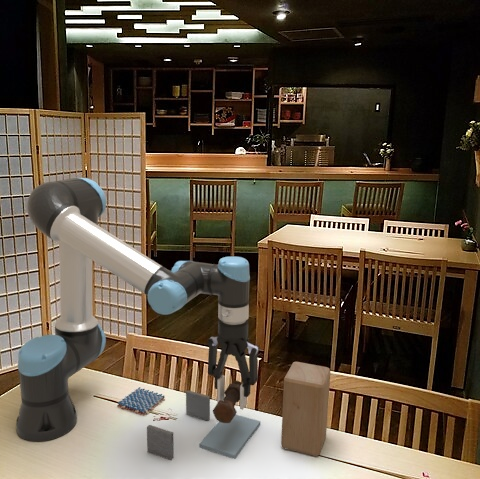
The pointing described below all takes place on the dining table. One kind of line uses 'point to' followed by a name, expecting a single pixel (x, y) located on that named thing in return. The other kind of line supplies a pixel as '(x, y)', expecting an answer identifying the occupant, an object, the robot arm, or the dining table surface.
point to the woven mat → (141, 401)
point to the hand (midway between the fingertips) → (232, 403)
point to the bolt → (228, 403)
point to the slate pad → (230, 436)
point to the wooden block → (305, 408)
